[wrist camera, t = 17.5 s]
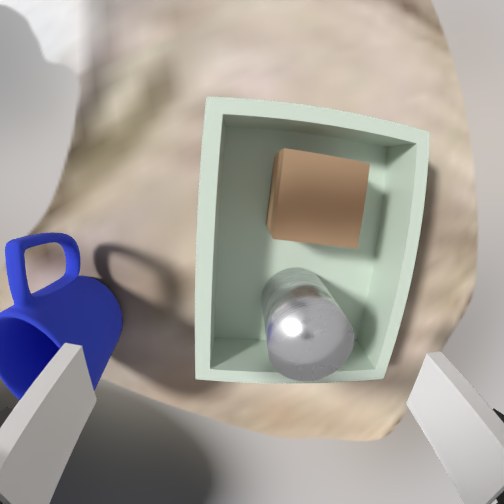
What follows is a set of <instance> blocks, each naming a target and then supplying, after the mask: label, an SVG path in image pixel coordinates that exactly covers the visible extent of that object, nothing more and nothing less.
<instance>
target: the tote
mask: <svg viewBox="0 0 504 504" xmlns="http://www.w3.org/2000/svg"><path fill="white" fill-rule="evenodd" d="M429 138H430V132H428V131H425V130H421V129H418V128H414V127H411V126H407V125H403V124H399V123H396V122H391V121H387V120H383V119H379V118H375V117H370V116H365V115H361V114H356V113H351V112H345V111H340V110H334V109H329V108H322V107H316V106H309V105H302V104H295V103H286V102H278V101H268V100H257V99H244V98H227V97H206V106H205V116H204V127H203V139H202V151H201V165H200V180H199V197H198V216H197V239H196V272H195V379H198V380H210V381H225V382H245V383H329V382H348V381H363V380H375V379H383V378H384V375H385V373H386V370H387V367H388V364H389V361H390V357H391V354H392V351H393V348H394V345H395V341H396V338H397V335H398V331H399V328H400V324H401V320H402V317H403V313H404V309H405V305H406V301H407V297H408V292H409V288H410V284H411V279H412V275H413V270H414V265H415V260H416V254H417V249H418V243H419V237H420V231H421V224H422V217H423V210H424V202H425V193H426V183H427V172H428V158H429ZM284 148H286V149H293V150H299V151H306V152H312V153H318V154H323V155H329V156H334V157H340V158H345V159H350V160H355V161H360V162H365V163H369V164H370V169H369V177H368V184H367V191H366V198H365V205H364V212H363V218H362V224H361V230H360V236H359V241H358V247H357V249H355V248H347V247H338V246H330V245H321V244H312V243H303V242H295V241H286V240H276V239H273V238H272V236H271V234H270V232H269V230H268V228H267V226H266V218H267V210H268V202H269V194H270V186H271V178H272V170H273V161H274V154H276V153H277V152H279V151H281V150H282V149H284ZM293 267H299V268H304V269H307V270H310V271H312V272H313V273H315V274H316V275H317V276H318V277H319V278H320V279H321V281H322V282H323V284H324V285H325V287H326V288H327V289H328V291H329V292H330V294H331V295H332V297H333V298H334V300H335V301H336V303H337V304H338V306H339V307H340V309H341V310H342V312H343V313H344V315H345V316H346V317H347V319H348V320H349V322H350V323H351V326H352V328H353V331H354V346H353V349H352V352H351V354H350V356H349V358H348V359H347V361H346V362H345V363H344V364H343V365H342V366H341V367H340V368H339V369H338V370H337V371H335V372H334V373H332V374H330V375H328V376H326V377H324V378H321V379H318V380H313V381H297V380H292V379H289V378H287V377H285V376H283V375H281V374H280V373H279V372H278V371H277V370H276V369H275V368H274V367H273V365H272V364H271V362H270V359H269V356H268V348H267V341H266V333H265V326H264V319H263V311H262V304H261V296H262V291H263V288H264V286H265V284H266V283H267V281H268V280H269V279H270V278H271V277H272V276H273V275H275V274H276V273H278V272H279V271H281V270H284V269H287V268H293Z"/></svg>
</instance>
